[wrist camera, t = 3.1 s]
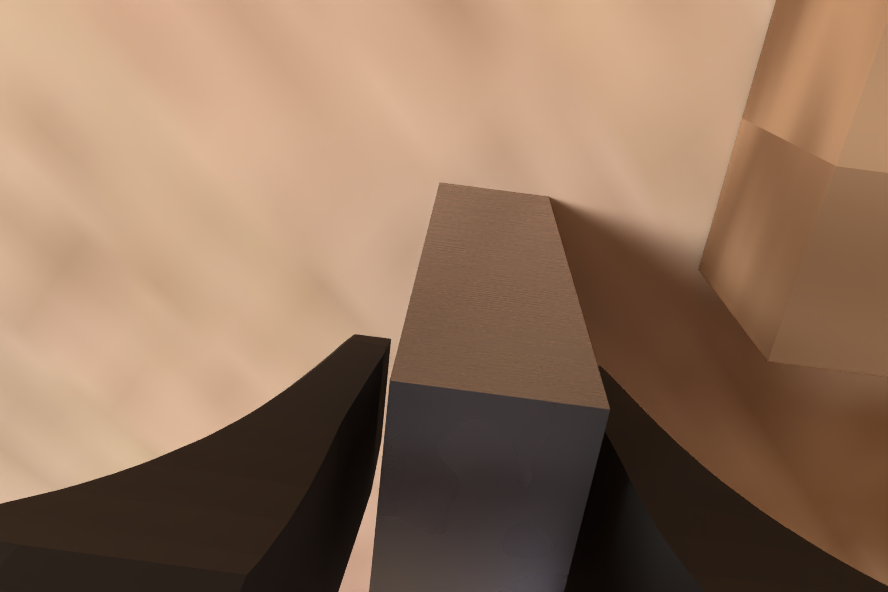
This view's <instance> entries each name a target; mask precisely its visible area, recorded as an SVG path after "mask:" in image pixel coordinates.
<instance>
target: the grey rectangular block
mask: <svg viewBox="0 0 888 592" xmlns="http://www.w3.org/2000/svg"><path fill="white" fill-rule="evenodd" d="M609 412H610V407H609V404H608V400H607V397H606V393H605V390H604V386H603V383H602V379H601V376H600V372H599V369H598V366H597V362H596V359H595V355H594V352H593V348H592V345H591V341H590V338H589V334H588V331H587V328H586V324H585V321H584V317H583V314H582V310H581V307H580V303H579V300H578V296H577V293H576V290H575V286H574V283H573V279H572V276H571V272H570V269H569V265H568V262H567V259H566V255H565V252H564V248H563V245H562V241H561V238H560V234H559V231H558V227H557V224H556V221H555V217H554V214H553V210H552V207H551V203H550V200H549V197H547V196H539V195H532V194H524V193H516V192H508V191H501V190H493V189H485V188H478V187H470V186H462V185H454V184H447V183H439V187H438V191H437V195H436V199H435V203H434V207H433V211H432V215H431V219H430V223H429V227H428V231H427V235H426V239H425V243H424V247H423V251H422V255H421V259H420V263H419V267H418V271H417V275H416V279H415V283H414V287H413V291H412V294H411V298H410V302H409V306H408V310H407V314H406V318H405V322H404V326H403V330H402V334H401V338H400V342H399V346H398V350H397V354H396V358H395V362H394V366H393V370H392V374H391V378H390V385H389V395H388V405H387V415H386V426H385V436H384V446H383V456H382V466H381V477H380V487H379V497H378V507H377V518H376V528H375V538H374V548H373V558H372V569H371V579H370V589H369V592H564V589H565V585H566V581H567V577H568V573H569V569H570V566H571V562H572V558H573V554H574V550H575V546H576V542H577V538H578V534H579V530H580V526H581V522H582V518H583V514H584V511H585V507H586V503H587V499H588V495H589V491H590V487H591V483H592V479H593V475H594V471H595V467H596V463H597V459H598V456H599V452H600V448H601V444H602V440H603V436H604V432H605V428H606V424H607V420H608V416H609Z"/></svg>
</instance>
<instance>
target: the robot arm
mask: <svg viewBox="0 0 888 592" xmlns="http://www.w3.org/2000/svg"><path fill="white" fill-rule="evenodd" d="M390 344H391V339H387V338H380V337H372V336H364V335H357V334H355V335H353V336H352V337H350V338H349V339H348V340H346V341H345V342H344V343H343V344H342V345H341V346H339V347H338V348H337V349H336V350H335V351H334V352H332V353H331V354H330V355H329V356H328V357H327V358H325V359H324V360H323V361H322V362H321V363H319V364H318V365H317V366H316V367H315V368H313V369H312V370H311V371H309V372H308V373H307V374H306V375H304V376H303V377H302V378H300V379H299V380H298V381H297V382H295V383H294V384H293V385H291V386H290V387H289V388H287V389H286V390H285V391H283V392H282V393H280V394H279V395H277V396H276V397H274V398H273V399H271V400H270V401H268V402H267V403H266V404H264V405H263V406H261V407H260V408H258V409H257V410H255V411H253V412H252V413H250V414H248V415H246V416H245V417H243V418H241V419H239V420H238V421H236V422H234V423H232V424H230V425H228V426H226V427H224V428H223V429H221V430H219V431H217V432H215V433H213V434H211V435H209V436H207V437H205V438H203V439H201V440H198V441H196V442H194V443H191V444H189V445H186V446H184V447H182V448H179V449H177V450H175V451H172V452H170V453H168V454H165V455H163V456H160V457H158V458H156V459H153V460H151V461H148V462H146V463H143V464H140V465H137V466H135V467H132V468H129V469H126V470H123V471H120V472H117V473H114V474H111V475H108V476H105V477H101V478H98V479H95V480H92V481H89V482H85V483H82V484H79V485H75V486H71V487H68V488H64V489H61V490H57V491H52V492H48V493H44V494H40V495H36V496H31V497H27V498H23V499H19V500H14V501H10V502H6V503H2V504H0V592H338V591H339V588H340V585H341V582H342V579H343V576H344V573H345V570H346V567H347V564H348V561H349V558H350V555H351V552H352V549H353V546H354V543H355V540H356V537H357V534H358V531H359V527H360V524H361V521H362V518H363V515H364V512H365V509H366V506H367V503H368V500H369V497H370V494H371V490H372V485H373V480H374V475H375V470H376V465H377V460H378V455H379V450H380V444H381V438H382V428H383V417H384V407H385V396H386V386H387V375H388V365H389V354H390ZM598 369H599V372H600V376H601V379H602V383H603V386H604V390H605V393H606V397H607V400H608V404H609V407H610V412H609V416H608V420H607V424H606V428H605V432H604V436H603V440H602V444H601V448H600V452H599V456H598V459H597V463H596V467H595V471H594V475H593V479H592V483H591V487H590V491H589V495H588V499H587V503H586V507H585V511H584V514H583V518H582V522H581V526H580V530H579V534H578V538H577V542H576V546H575V550H574V554H573V558H572V562H571V566H570V569H569V573H568V577H567V581H566V585H565V589H564V592H888V586H886V585H884V584H882V583H881V582H879V581H877V580H875V579H873V578H871V577H869V576H867V575H865V574H863V573H861V572H860V571H858V570H856V569H854V568H852V567H851V566H849V565H847V564H845V563H844V562H842V561H840V560H838V559H837V558H835V557H833V556H831V555H830V554H828V553H826V552H824V551H823V550H821V549H820V548H818V547H816V546H815V545H813V544H812V543H810V542H808V541H807V540H805V539H804V538H802V537H800V536H799V535H797V534H796V533H794V532H792V531H791V530H789V529H788V528H786V527H784V526H783V525H781V524H780V523H778V522H777V521H775V520H774V519H772V518H771V517H770V516H768V515H767V514H765V513H764V512H762V511H761V510H759V509H758V508H757V507H755V506H754V505H753V504H751V503H750V502H749V501H747V500H746V499H745V498H743V497H742V496H740V495H739V494H738V493H736V492H735V491H734V490H732V489H731V488H730V487H728V486H727V485H726V484H724V483H723V482H722V481H721V480H719V479H718V478H717V477H716V476H714V475H713V474H712V473H711V472H710V471H708V470H707V469H706V468H705V467H704V466H703V465H701V464H700V463H699V462H698V461H697V460H696V459H695V458H693V457H692V456H691V455H690V454H689V453H688V452H687V451H685V450H684V449H683V448H682V447H681V446H680V445H679V444H678V443H677V442H676V441H675V440H673V439H672V438H671V437H670V436H669V435H668V434H667V433H666V432H665V431H664V430H663V429H662V428H661V427H660V426H659V425H658V424H657V423H656V422H655V421H654V420H653V419H652V418H651V417H650V416H649V415H648V414H647V413H646V412H645V411H644V410H643V409H642V408H641V407H640V406H639V405H638V404H637V403H636V402H635V401H634V400H633V399H632V398H631V397H630V396H629V394H628V393H627V392H626V391H625V390H624V389H623V388H622V387H621V386H620V385H619V384H618V383H617V382H616V381H615V380H614V379H613V378H612V377H611V376H610V375H609V374H608V373H607V372H606V371H605V370H604V369H603V368H602V367H601V366H598Z"/></svg>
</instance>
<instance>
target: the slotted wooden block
mask: <svg viewBox="0 0 888 592" xmlns="http://www.w3.org/2000/svg"><path fill="white" fill-rule="evenodd" d="M699 271H700V272H701V273H702V275H703V276H704V277H705V279H706V280H707V281H708V283H709V284H710V285H711V287H712V288H713V289H714V291H715V292H716V293H717V295H718V296H719V297H720V299H721V300H722V301H723V303H724V304H725V305H726V307H727V308H728V309H729V311H730V312H731V313H732V315H733V316H734V317H735V319H736V320H737V321H738V323H739V324H740V325H741V327H742V328H743V329H744V331H745V332H746V333H747V335H748V336H749V337H750V339H751V340H752V341H753V343H754V344H755V345H756V347H757V348H758V349H759V351H760V352H761V353H762V355H763V356H764V357H765V359H766V360H767V361H768V362H776V363H783V364H791V365H799V366H806V367H814V368H822V369H829V370H837V371H845V372H852V373H860V374H868V375H875V376H883V377H888V0H776V3H775V6H774V10H773V13H772V17H771V20H770V24H769V27H768V31H767V34H766V38H765V41H764V45H763V48H762V51H761V55H760V58H759V62H758V65H757V69H756V72H755V76H754V79H753V83H752V86H751V90H750V93H749V97H748V100H747V104H746V107H745V110H744V114H743V117H742V121H741V124H740V128H739V131H738V135H737V138H736V142H735V145H734V149H733V152H732V156H731V159H730V163H729V166H728V169H727V173H726V176H725V180H724V183H723V187H722V190H721V194H720V197H719V201H718V204H717V208H716V211H715V215H714V218H713V222H712V225H711V228H710V232H709V235H708V239H707V242H706V246H705V249H704V253H703V256H702V260H701V263H700V267H699Z"/></svg>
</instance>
